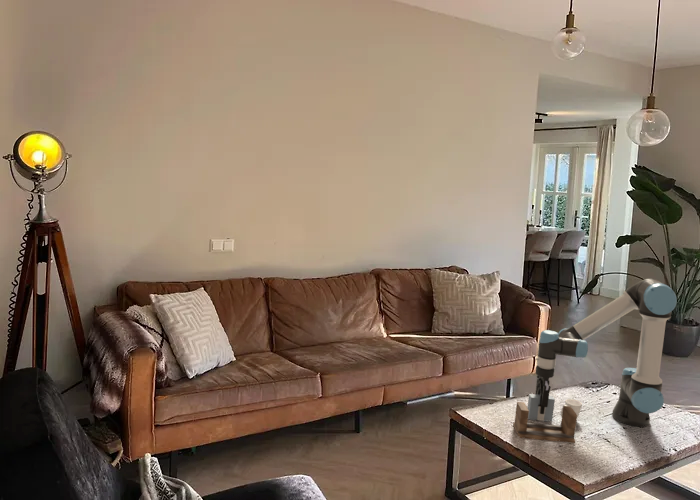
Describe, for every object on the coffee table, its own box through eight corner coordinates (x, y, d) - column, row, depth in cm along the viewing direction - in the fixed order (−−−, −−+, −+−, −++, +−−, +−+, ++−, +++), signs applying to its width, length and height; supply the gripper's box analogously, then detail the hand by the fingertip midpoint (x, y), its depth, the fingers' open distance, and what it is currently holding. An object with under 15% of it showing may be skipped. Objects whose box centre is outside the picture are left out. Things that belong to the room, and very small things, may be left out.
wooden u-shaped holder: (566, 429, 247) (569, 404, 245) (575, 443, 235) (578, 417, 233) (513, 424, 248) (516, 399, 246) (519, 437, 236) (522, 411, 234)
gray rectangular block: (549, 417, 258) (552, 395, 256) (552, 421, 254) (554, 399, 252) (526, 415, 258) (529, 393, 257) (528, 419, 254) (531, 397, 253)
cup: (583, 422, 255) (585, 404, 254) (566, 425, 251) (568, 407, 250) (571, 415, 261) (573, 398, 260) (554, 418, 257) (556, 400, 256)
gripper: (531, 359, 261) (525, 408, 265) (541, 372, 244) (535, 425, 248) (549, 360, 261) (542, 410, 264) (559, 374, 244) (553, 427, 247)
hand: (539, 417), depth 256 cm, fingers closed on gray rectangular block, 4 cm apart
